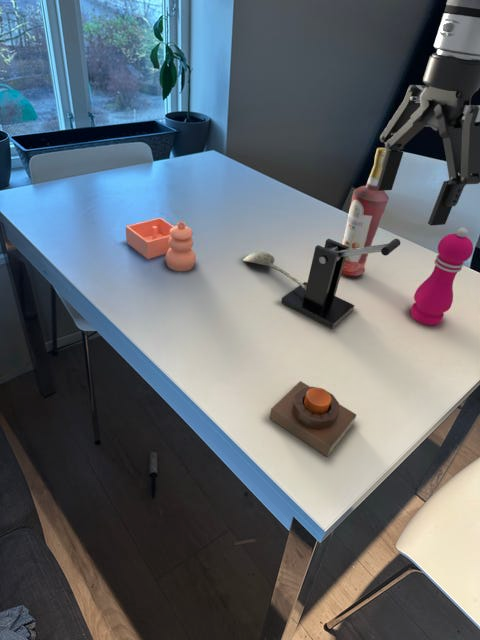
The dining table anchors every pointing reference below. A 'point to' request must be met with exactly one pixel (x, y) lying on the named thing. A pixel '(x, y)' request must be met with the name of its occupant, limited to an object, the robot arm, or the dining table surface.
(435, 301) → the pepper mill
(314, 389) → the button
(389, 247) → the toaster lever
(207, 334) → the dining table surface
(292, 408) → the button box
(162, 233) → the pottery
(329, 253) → the lever bracket
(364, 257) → the liquor
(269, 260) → the soupspoon
